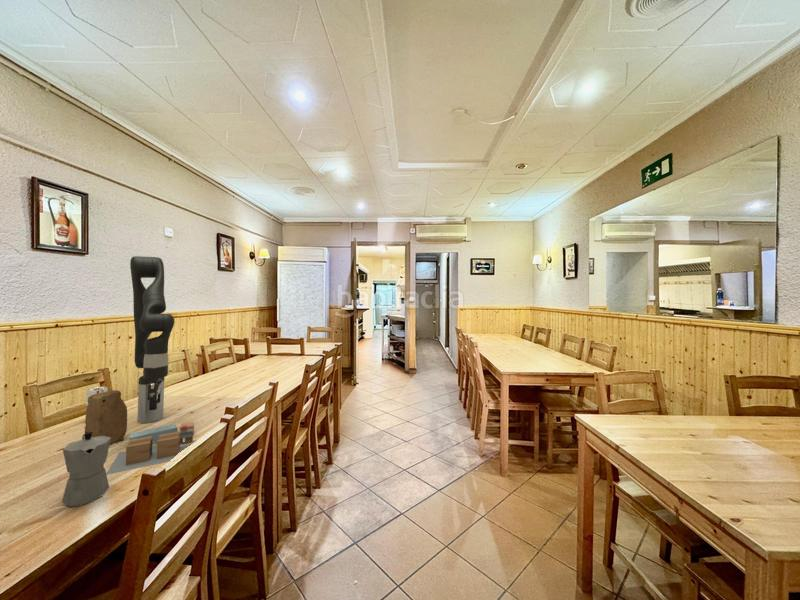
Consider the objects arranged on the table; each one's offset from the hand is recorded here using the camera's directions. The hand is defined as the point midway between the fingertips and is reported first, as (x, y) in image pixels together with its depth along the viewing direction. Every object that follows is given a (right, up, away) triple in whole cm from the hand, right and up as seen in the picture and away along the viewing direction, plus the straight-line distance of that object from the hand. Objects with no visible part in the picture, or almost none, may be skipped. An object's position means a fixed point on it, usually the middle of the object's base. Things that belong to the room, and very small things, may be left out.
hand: (154, 406), depth 116 cm
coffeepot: (+6, -14, -31) cm, 35 cm away
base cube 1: (+5, -14, -13) cm, 20 cm away
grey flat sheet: (+8, -14, -10) cm, 19 cm away
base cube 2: (+12, -14, -9) cm, 20 cm away
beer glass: (-41, -14, +18) cm, 47 cm away
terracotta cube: (+9, -14, +5) cm, 18 cm away
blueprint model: (+12, -14, -2) cm, 19 cm away
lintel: (0, -14, 0) cm, 14 cm away
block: (-17, -14, -2) cm, 22 cm away
